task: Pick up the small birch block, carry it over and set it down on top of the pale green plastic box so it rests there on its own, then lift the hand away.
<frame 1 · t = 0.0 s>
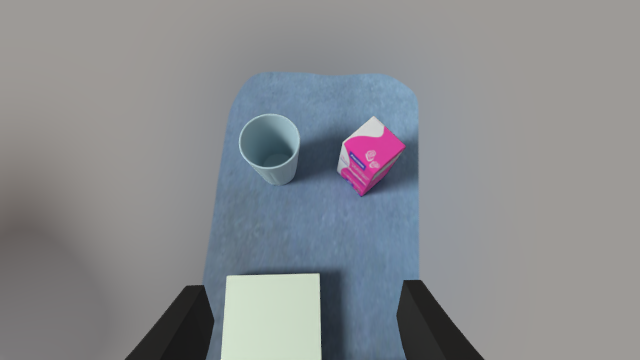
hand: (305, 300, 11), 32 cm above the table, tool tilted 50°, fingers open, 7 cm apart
green box: (276, 321, 40), on the table
cup: (279, 169, 47), on the table
supplement box: (360, 174, 47), on the table
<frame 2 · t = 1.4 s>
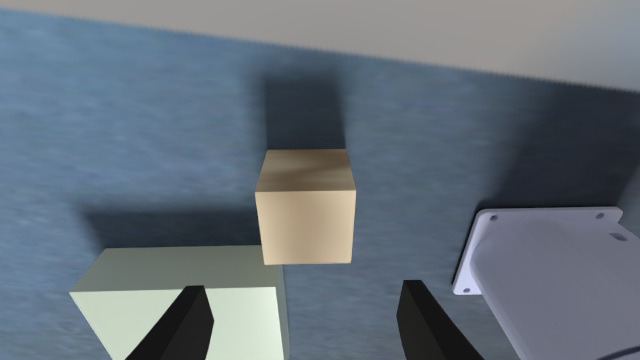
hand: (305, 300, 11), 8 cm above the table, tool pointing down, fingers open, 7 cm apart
birch block: (307, 182, 18), on the table
green box: (211, 298, 24), on the table
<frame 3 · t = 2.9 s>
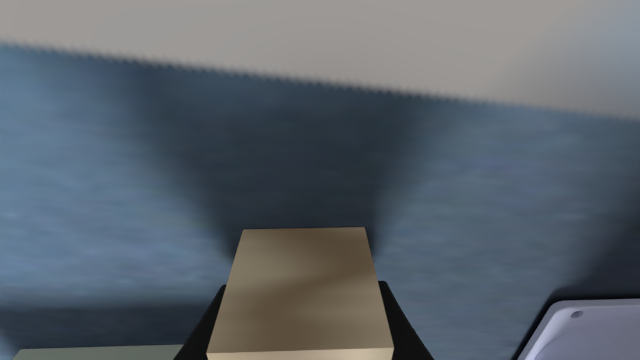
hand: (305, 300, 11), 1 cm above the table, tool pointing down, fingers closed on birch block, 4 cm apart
birch block: (305, 270, 12), on the table, touching gripper
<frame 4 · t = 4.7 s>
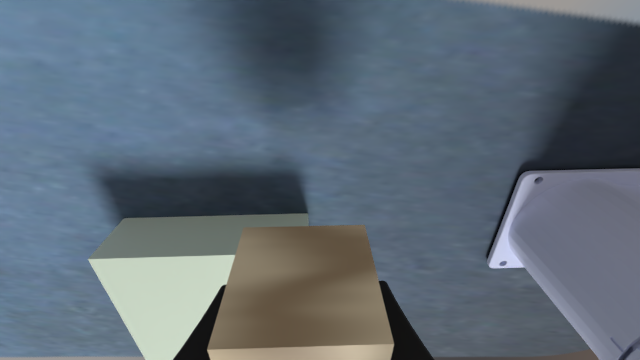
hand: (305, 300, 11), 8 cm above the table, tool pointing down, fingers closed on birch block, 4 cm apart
birch block: (305, 268, 12), point 7 cm above the table, touching gripper
green box: (232, 274, 23), on the table
when the fingers open (7 cm above the table, at t = 6.7 s): birch block drops 2 cm, resting on green box.
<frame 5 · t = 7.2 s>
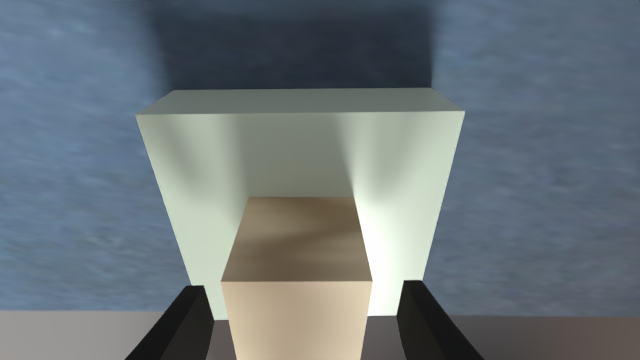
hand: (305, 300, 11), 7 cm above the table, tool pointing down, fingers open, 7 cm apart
birch block: (302, 237, 14), point 4 cm above the table, touching green box
green box: (307, 191, 17), on the table, touching birch block
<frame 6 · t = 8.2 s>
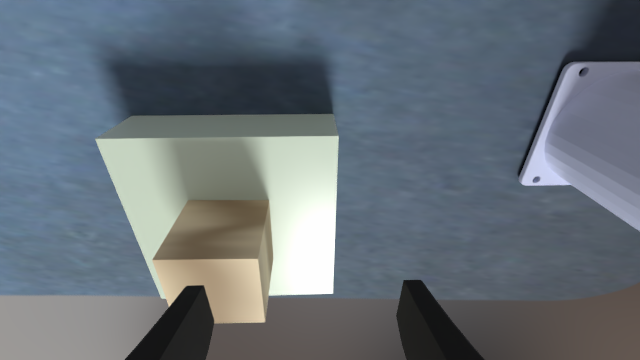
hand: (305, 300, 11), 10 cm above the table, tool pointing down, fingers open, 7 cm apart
birch block: (233, 230, 18), point 3 cm above the table
green box: (247, 193, 21), on the table
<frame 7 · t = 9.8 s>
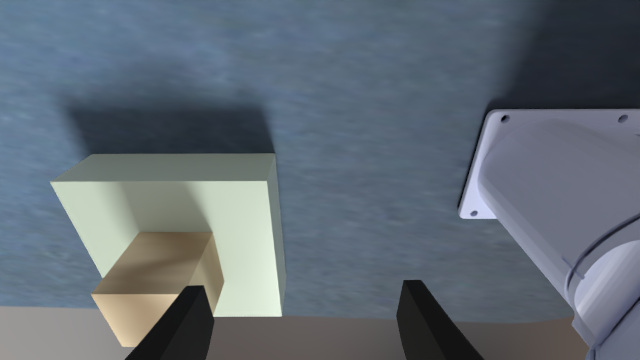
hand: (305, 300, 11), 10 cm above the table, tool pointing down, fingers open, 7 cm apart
birch block: (184, 258, 19), point 3 cm above the table, touching green box
green box: (204, 221, 23), on the table, touching birch block
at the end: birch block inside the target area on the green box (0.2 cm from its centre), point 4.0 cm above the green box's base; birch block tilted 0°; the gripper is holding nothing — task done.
